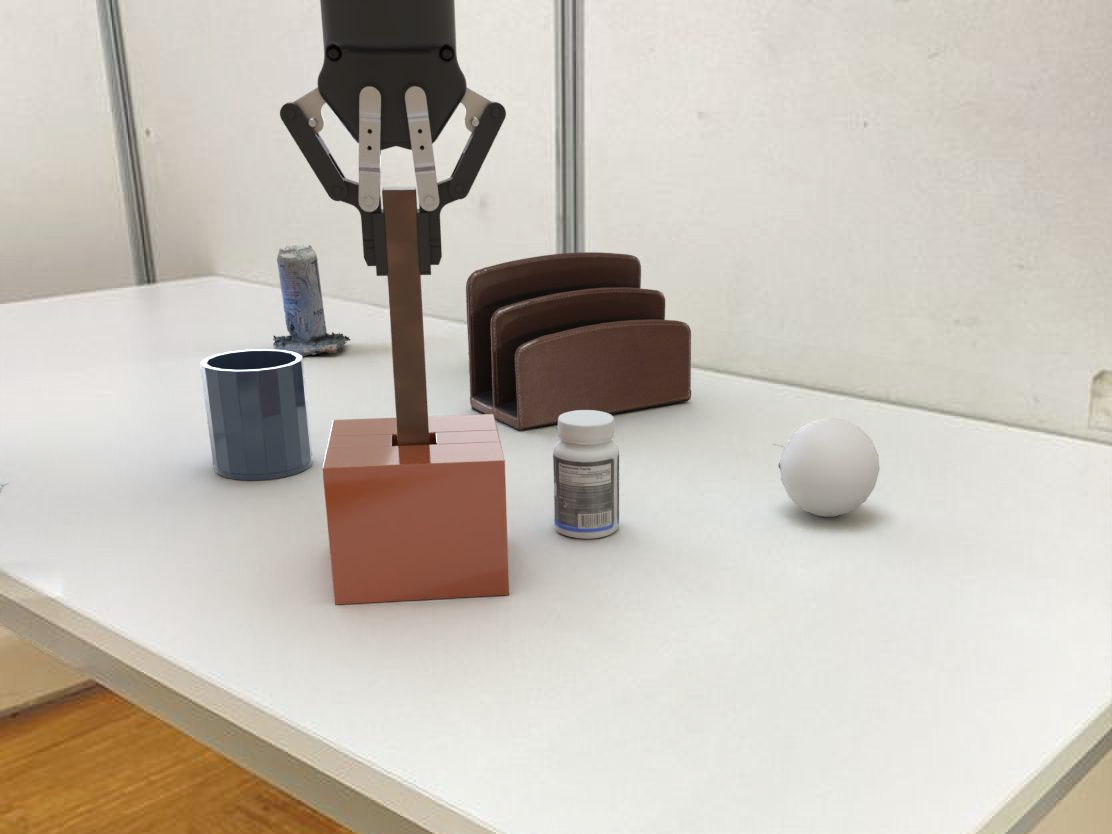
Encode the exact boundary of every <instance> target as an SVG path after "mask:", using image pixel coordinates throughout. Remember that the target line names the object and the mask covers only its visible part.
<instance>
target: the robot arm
mask: <svg viewBox="0 0 1112 834" xmlns="http://www.w3.org/2000/svg"><path fill="white" fill-rule="evenodd" d="M319 2H320V3H319V4H320V13H321V14H320V16H321V30H322V41H323V63H322V67H321V69H320V72H319V74H318V76H317V83H316V85H317V87H315V88H314V89H313V90H311V91H309V92H307V93H306V94H304V95H303V96H301V97H299V98H298V99H296V100H294V101H287V102H286V103H284V104H283V105H282V106H281V108H280V109H279V117H280V120H281V121H282V123H283V124H284V126H285V127H286V129H287V131H288V132H289V134H290V136H291V137H292V139H293V140H294V142H295V144H296V145H297V148H298V149H299V150H300V152H301V154H302V155H303V157H304V159H305V160H306V162H307V163H308V164H309V166H310V168H311V169H312V171H313V173H314V175H315V176H316V178H317V180H318V181H319V183H320V184H321V186H322V188H323V189H324V191H325V193H326V194H327V196H328V197H329V199H331V200H332V201H335V202H342V203H344V204H348V205H350V206H353V207H354V208H356V209H357V211H358V212H359V215H360V223H361V236H362V237H361V238H362V252H363V259H364V261H365V263H366V265H367V267H375V273H376V277H387V274H388V267H387V251H386V235H385V219H384V213H383V207H382V195H381V177H382V175H381V174H382V173H381V170H382V151H384V150H388V149H390V148H394V147H398V148H401V149H406V150H410V151H411V155H412V161H413V168H414V175H415V182H416V191H417V196H418V206H419V207H418V208H417V230H418V249H419V268H420V274H421V276H431V275H432V266H439V265H440V262H441V260H442V257H443V253H442V252H443V251H442V231H441V230H442V229H441V213H442V212H441V211H442V210H443V208H444V207H445V206H446V205H448V204H451V203H454V202H456V201H458V200H459V201H460V200H463V199H466V197H468V195H469V193H470V191H471V189H472V187H473V185H474V183H475V181H476V179H477V177H478V175H479V173H480V171H481V168H482V167H483V164H484V162H485V160H486V158H487V156H488V154H489V153H490V150H491V149H492V146H493V144H494V142H495V140H496V138H497V136H498V133H499V132H500V129H501V128H502V126H503V123H504V121H505V120H506V116H507V110H506V107H505V106H504V105H503V104H501V103H500V102H498V101H495V100H490V99H488V98H486V97H484V96H483V95H481V94H479V93H477V92H476V91H474V90H472V89H470V88H469V87H467V85H468V84H467V79H466V75H465V74H464V73H463V71H462V69H461V67H460V65H459V60H458V53H457V32H456V31H457V30H456V27H457V26H456V7H455V5H456V4H455V0H319ZM325 104H326V105H327V106H328V108H329V109H330V110H331V112H332V113H333V114H334V115H335V117H336V118H337V120H338V121H339V122H340V123H341V125H342V126H343V127H344V128H345V130H346V131H347V132H348V133H349V135H350V136H351V138H352V139H353V140H354V141H355V142H356V143H357V144H358V182H357V181H354V180H352V179H349V178H346V176H345V174H344V172H343V171H342V169H341V167H340V166H339V164H338V163H337V160H336V159H335V157H334V156H333V154H332V153H331V151H330V149H329V148H328V146H327V145H326V143H325V142H324V140H323V138H322V136H321V135H320V132H321V131H322V130H323V129H324V127H325V125H326V120H325V117H324V115H323V107H324V105H325ZM460 104H462V105H463V107H464V109H465V113H464V114H465V115H464V117H463V124H464V126H465V128H466V129H467V130H468V131H469V132H471V133H470V135H469V137H468V139H467V142H466V144H465V145H464V148H463V150H462V152H461V153H460V156H459V158H458V160H457V162H456V164H455V167H454V168H453V171H452V172H451V175H450V177H448V178H446V179H443V180H441V181H438V178H437V170H436V163H435V155H434V147H433V144H434V143H435V142H436V141H438V139H439V137H440V135H441V134H442V133H443V131H444V129H445V127H446V126H447V125H448V122H449V121H450V119H451V118H452V117H453V115H454V113H455V112H456V110H457V109H458V107H459V105H460Z"/></svg>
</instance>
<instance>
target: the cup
mask: <svg viewBox="0 0 1112 834" xmlns="http://www.w3.org/2000/svg"><path fill="white" fill-rule="evenodd" d="M199 366H200V373H201V381H202V389H203V398H204V404H205V412H206V420H207V429H208V435H209V443H210V450H211V459H212V464H213V468H214V472H215V473H216V474H217V475H218V476H220V477H223V478H226V479H230V480H239V481H265V480H276V479H281V478H287V477H291V476H294V475H297V474H300V473H302V472H304V471H306V470H308V469H310V468H311V466H312V465H313V450H312V449H313V447H312V437H311V428H310V418H309V417H310V416H309V408H308V397H307V396H308V395H307V389H306V388H307V385H306V376H305V365H304V357H302V356H301V355H299V354H298V353H295V352H293V351H291V352H290V351H285V350H275V349H267V348H264V349H263V348H262V349H259V348H258V349H243V350H234V351H227V352H223V353H222V352H221V353H216V354H213V355H210V356H208V357H206V358H204V359H202V360H201V362H200V363H199Z"/></svg>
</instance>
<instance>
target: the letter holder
mask: <svg viewBox="0 0 1112 834" xmlns="http://www.w3.org/2000/svg"><path fill="white" fill-rule="evenodd" d="M641 286H642V265H641V261H640V259H639V258H638V257H637V256H636V255H632V254H626V253H615V252H599V251H598V252H597V251H596V252H595V251H594V252H593V251H592V252H591V251H590V252H589V251H588V252H587V251H585V252H583V251H582V252H564V253H553V254H546V255H538V256H533V257H525V258H521V259H515V260H510V261H505V262H501V263H497V264H494V265H490V266H486V267H482V268H480V269H476V270H475V271H473V272H472V273H471V274H470V275H469V276H468V278H467V280H466V284H465V298H466V299H465V303H466V327H467V344H468V346H467V347H468V348H467V349H468V352H467V354H468V370H469V403H470V407H471V408H470V409H471V410H475V411H477V412H480V413H482V414H494V417H495V420H496V421H498V422H500V423H503V424H505V425H508V426H509V427H512V428H514V429H516V430H518V431H523V430H528V429H533V428H538V427H545V426H550V425H551V426H552V425H556V424H557V425H558V417H559V416H560V415H561V414H563V413H566V412H570V411H576V410H595V411H601V412H605V413H608V414H610V415H614V414H619V413H624V412H630V411H635V410H641V409H642V410H643V409H647V408H654V407H660V406H666V405H672V404H677V403H682V402H688V401H691V398H692V388H691V387H692V383H691V382H692V330H691V327H690V326H689V324H687V323H686V322H684V321H681V320H673V319H666V298H665V295H664V293H663V292H662V291H661V290H657V289H651V288H642V287H641Z"/></svg>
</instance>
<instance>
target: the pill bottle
mask: <svg viewBox="0 0 1112 834" xmlns="http://www.w3.org/2000/svg"><path fill="white" fill-rule="evenodd" d="M614 437H615V418H614V416H613V414H608V413H605V412H601V411H595V410H576V411H570V412H566V413H563V414H561V415H560V416H559V417H558V423H557V438H558V439H559V440H558V441H557V442H556V443H555V444H554V447H553V450H552V451H553V452H552V460H553V461H552V462H553V463H552V465H553V467H552V470H553V499H554V501H553V502H554V504H553V505H554V506H553V507H554V510H553V511H554V515H553V516H554V528H555V530H556V531H557V532H558V533H559V534H561V535H562V536H565V537H569V538H574V539H584V540H591V539H599V538H605V537H607V536H610V535H612V534H613V533H615V532H616V531H617V530H618V529H619V526H620V448H619V446H618V444H617V442H616V441H614V440H613V439H614Z"/></svg>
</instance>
